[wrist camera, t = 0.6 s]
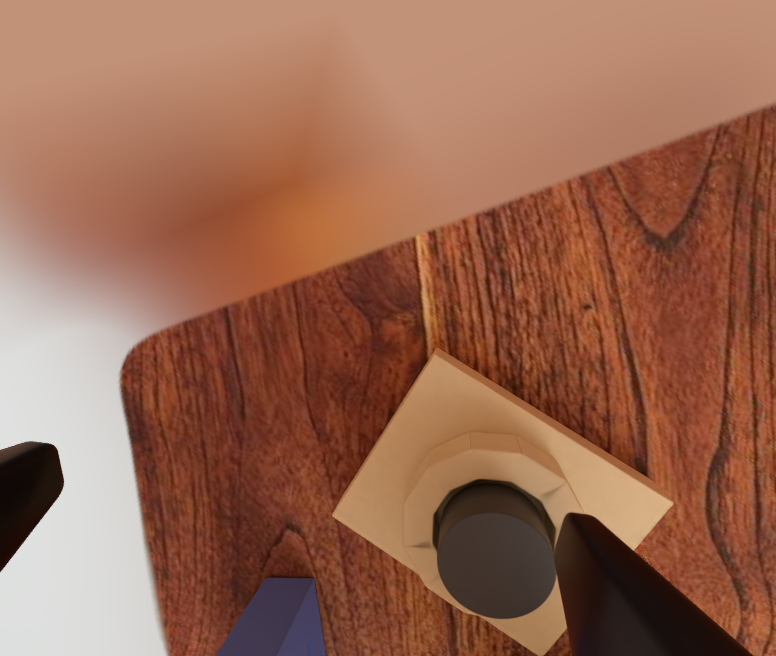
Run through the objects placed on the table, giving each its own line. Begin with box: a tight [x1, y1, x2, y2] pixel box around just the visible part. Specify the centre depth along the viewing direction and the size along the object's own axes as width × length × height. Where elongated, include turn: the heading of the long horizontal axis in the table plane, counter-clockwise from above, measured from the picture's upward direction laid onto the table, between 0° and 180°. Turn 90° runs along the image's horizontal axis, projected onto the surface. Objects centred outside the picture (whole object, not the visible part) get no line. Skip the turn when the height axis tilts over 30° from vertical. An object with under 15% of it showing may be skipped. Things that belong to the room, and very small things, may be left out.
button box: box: [332, 348, 673, 656], centre depth 17 cm, size 11×9×4 cm
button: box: [437, 483, 557, 619], centre depth 15 cm, size 4×4×2 cm
